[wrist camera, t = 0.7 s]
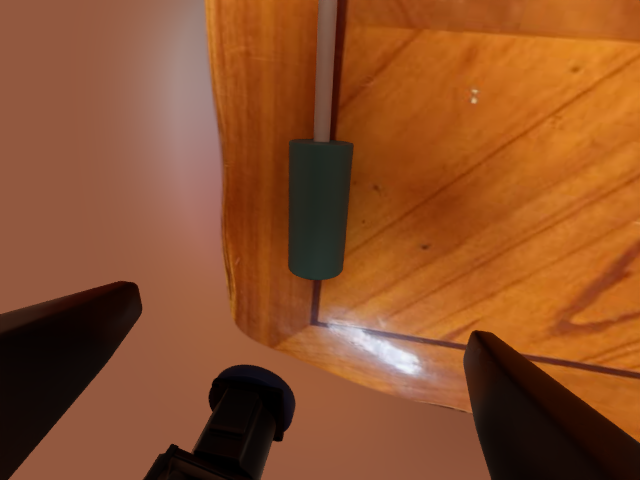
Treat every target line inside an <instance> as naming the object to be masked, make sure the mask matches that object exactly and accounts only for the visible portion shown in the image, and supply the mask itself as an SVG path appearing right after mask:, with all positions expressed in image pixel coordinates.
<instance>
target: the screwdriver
mask: <svg viewBox="0 0 640 480" xmlns="http://www.w3.org/2000/svg"><path fill="white" fill-rule="evenodd" d="M336 17H337V0H319V2H318V29H317V57H316V85H315V112H314V139H294V140H290V141H289V244H288V267H289V270H290V271H291V272H292V273H293V274H295V275H296V276H298V277H301V278H305V279H310V280H325V279H330V278H333V277H336V276H338V275H339V274H340V273H341V272H342V270H343V261H344V249H345V238H346V226H347V215H348V203H349V191H350V180H351V168H352V156H353V143H350V142H344V141H336V140H330V124H331V106H332V88H333V70H334V52H335V35H336Z"/></svg>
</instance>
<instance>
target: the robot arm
mask: <svg viewBox="0 0 640 480" xmlns="http://www.w3.org/2000/svg"><path fill="white" fill-rule="evenodd" d="M141 313H142V304H141V298H140V293H139V289H138V286H137V285H136V284H135V283H133V282H126V281H118V282H114V283H111V284H107V285H104V286H100V287H97V288H93V289H90V290H86V291H83V292H79V293H75V294H72V295H68V296H64V297H61V298H57V299H54V300H50V301H46V302H43V303H39V304H36V305H32V306H29V307H25V308H22V309H18V310H14V311H10V312H7V313H3V314H0V480H8V479H9V478H10V477H11V476H12V475H13V473H14V472H15V471H16V470H17V469H18V467H19V466H20V465H21V464H22V463H23V461H24V460H25V459H26V458H27V457H28V456H29V454H30V453H31V452H32V451H33V450H34V449H35V447H36V446H37V445H38V444H39V443H40V441H41V440H42V439H43V438H44V437H45V436H46V434H47V433H48V432H49V431H50V430H51V428H52V427H53V426H54V425H55V424H56V423H57V421H58V420H59V419H60V418H61V417H62V415H63V414H64V413H65V412H66V411H67V409H68V408H69V407H70V406H71V405H72V404H73V402H74V401H75V400H76V399H77V398H78V397H79V395H80V394H81V393H82V392H83V391H84V390H85V388H86V387H87V386H88V385H89V383H90V382H91V381H92V380H93V379H94V378H95V377H96V375H97V374H98V373H99V372H100V370H101V369H102V368H103V367H104V366H105V364H106V363H107V362H108V360H109V359H110V358H111V356H112V355H113V354H114V352H115V350H116V349H117V348H118V346H119V345H120V344H121V342H122V341H123V340H124V338H125V337H126V335H127V334H128V332H129V331H130V330H131V328H132V327H133V325H134V324H135V323H136V321H137V320H138V318H139V317H140V315H141ZM463 365H464V370H465V376H466V381H467V386H468V391H469V396H470V401H471V407H472V412H473V417H474V421H475V426H476V430H477V434H478V437H479V441H480V444H481V447H482V451H483V454H484V457H485V460H486V464H487V467H488V470H489V473H490V476H491V480H640V443H639V442H638V441H636V440H635V439H634V438H632V437H631V436H630V435H628V434H627V433H626V432H624V431H623V430H622V429H620V428H619V427H617V426H616V425H615V424H613V423H612V422H611V421H609V420H608V419H607V418H605V417H604V416H603V415H601V414H600V413H599V412H597V411H596V410H595V409H593V408H592V407H591V406H589V405H588V404H587V403H585V402H584V401H583V400H581V399H580V398H579V397H577V396H576V395H575V394H573V393H572V392H571V391H569V390H568V389H567V388H565V387H564V386H563V385H561V384H560V383H559V382H557V381H556V380H554V379H553V378H552V377H550V376H549V375H548V374H546V373H545V372H544V371H542V370H541V369H540V368H538V367H537V366H536V365H534V364H533V363H532V362H530V361H529V360H528V359H526V358H525V357H524V356H522V355H521V354H520V353H518V352H517V351H516V350H514V349H513V348H512V347H510V346H509V345H508V344H506V343H505V342H504V341H502V340H501V339H500V338H498V337H497V336H496V335H494V334H493V333H491V332H485V331H478V330H475V331H473V332H472V333H471V335H470V338H469V341H468V344H467V347H466V351H465V354H464V358H463ZM212 392H213V400H214V408H215V409H214V411H213V413H212V415H211V416H210V418H209V420H208V422H207V424H206V426H205V428H204V430H203V431H202V433H201V435H200V437H199V439H198V441H197V443H196V444H195V446H194V448H193V450H192V452H191V453H189V452H187V451H185V450H182V449H180V448H178V446H177V445H174V444H171V445H170V447H169V448H168V450H167V451H166V453H164V454H159V456H158V457H157V459H156V460H155V462H154V464H153V465H152V467H151V468H150V470H149V471H148V473H147V475H146V476H145V477H144V479H143V480H261V476H262V473H263V470H264V466H265V463H266V460H267V457H268V453H269V450H270V447H271V443H272V441H276V442H281V441H282V440H283V437H284V391H283V390H282V389H280V388H276V387H270V386H264V385H258V384H252V383H246V382H241V381H235V380H229V379H223V378H215V379H214V380H213V382H212Z"/></svg>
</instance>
